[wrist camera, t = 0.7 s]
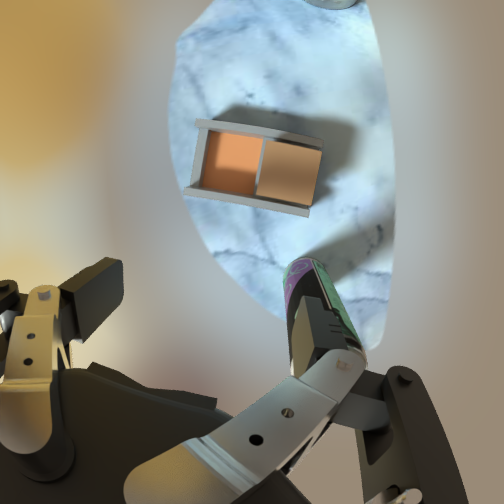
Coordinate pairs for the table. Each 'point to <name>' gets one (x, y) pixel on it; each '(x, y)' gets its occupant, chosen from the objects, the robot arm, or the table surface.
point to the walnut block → (288, 172)
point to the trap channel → (239, 164)
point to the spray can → (319, 286)
